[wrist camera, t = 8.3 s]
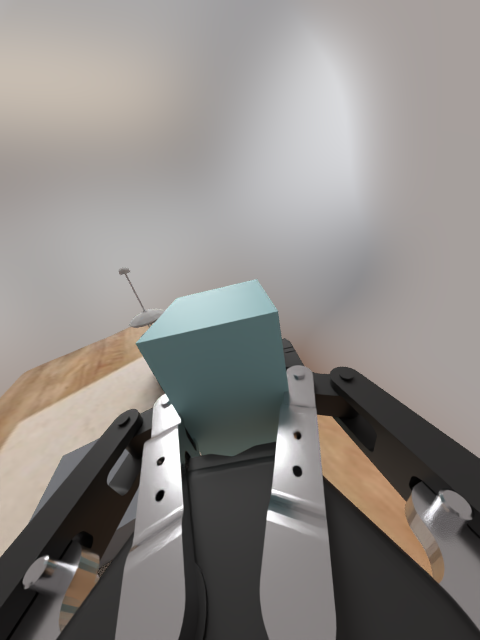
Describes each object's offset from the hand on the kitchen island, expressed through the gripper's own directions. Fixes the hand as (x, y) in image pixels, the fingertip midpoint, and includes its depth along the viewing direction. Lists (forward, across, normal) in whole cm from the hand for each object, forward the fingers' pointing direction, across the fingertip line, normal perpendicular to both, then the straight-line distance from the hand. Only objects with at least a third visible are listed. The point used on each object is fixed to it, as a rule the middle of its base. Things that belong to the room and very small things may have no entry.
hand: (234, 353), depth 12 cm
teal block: (-3, 0, +7) cm, 7 cm away
